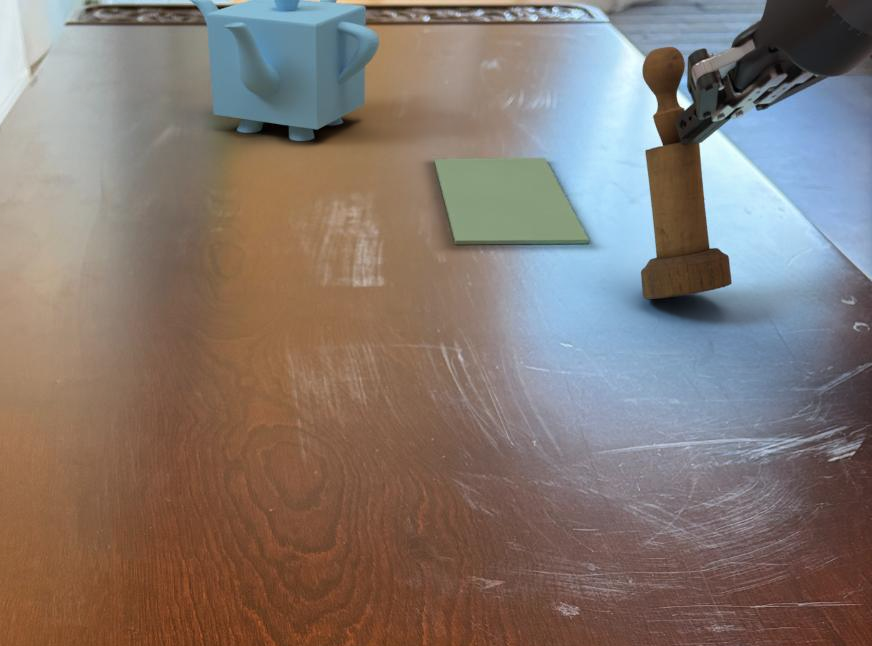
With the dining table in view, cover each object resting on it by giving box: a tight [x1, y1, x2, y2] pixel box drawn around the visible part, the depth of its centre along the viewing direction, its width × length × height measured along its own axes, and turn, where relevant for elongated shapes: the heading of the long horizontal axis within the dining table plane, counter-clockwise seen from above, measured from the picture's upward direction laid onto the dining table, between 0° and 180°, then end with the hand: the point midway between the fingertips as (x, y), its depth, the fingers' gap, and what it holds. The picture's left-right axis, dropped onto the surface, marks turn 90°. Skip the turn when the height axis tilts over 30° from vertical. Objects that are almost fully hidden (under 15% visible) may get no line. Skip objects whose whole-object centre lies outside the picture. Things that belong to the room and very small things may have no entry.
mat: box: [433, 157, 590, 246], centre depth 103 cm, size 12×24×1 cm, turn 0°
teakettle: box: [189, 0, 380, 142], centre depth 120 cm, size 19×19×15 cm
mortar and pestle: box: [640, 46, 732, 300], centre depth 79 cm, size 7×6×18 cm
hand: (685, 132), depth 77 cm, fingers closed
